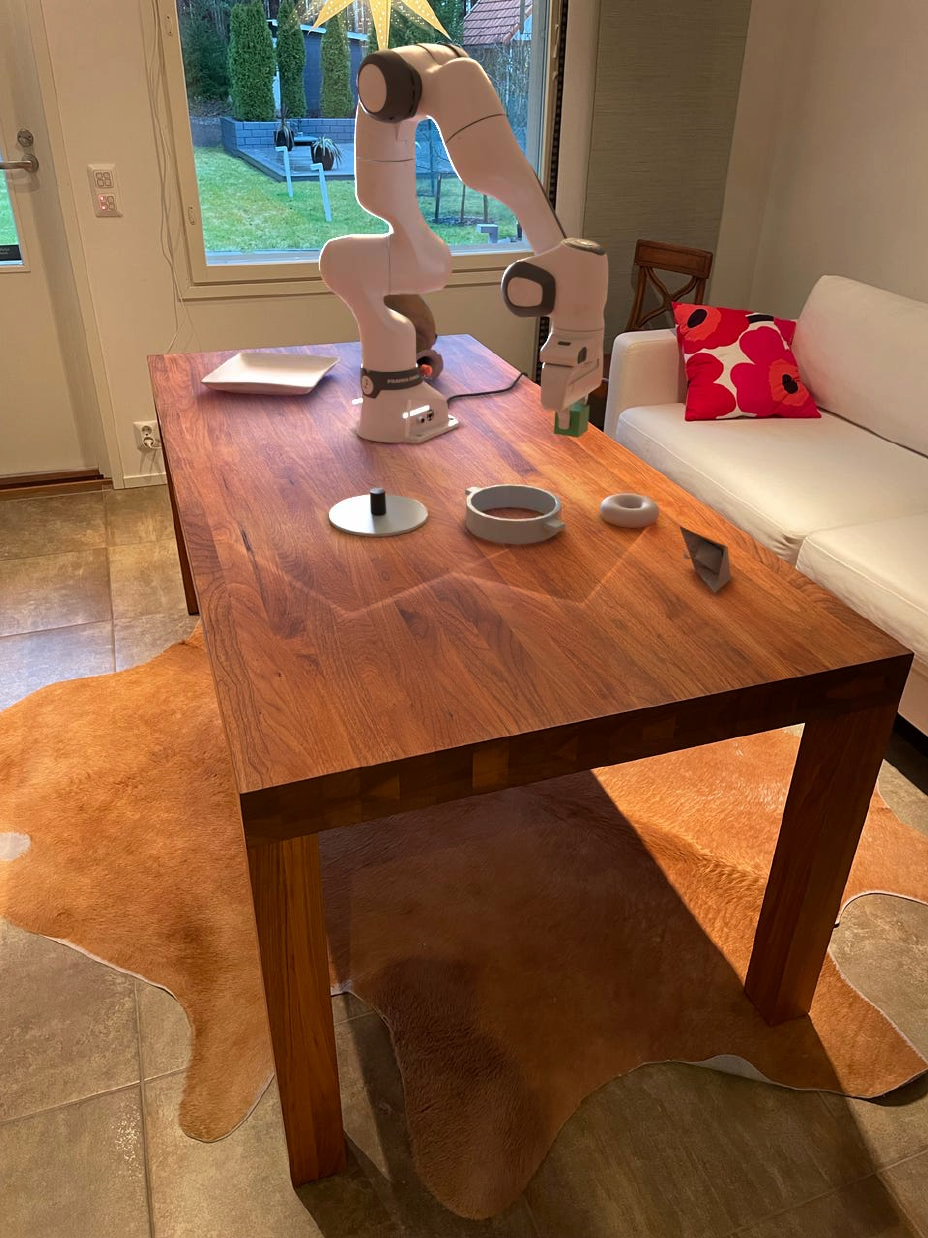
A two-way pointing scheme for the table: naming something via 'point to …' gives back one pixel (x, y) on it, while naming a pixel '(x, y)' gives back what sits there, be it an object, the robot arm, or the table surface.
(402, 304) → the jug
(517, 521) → the pan
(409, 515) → the pan lid
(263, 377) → the square plate
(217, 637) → the table surface
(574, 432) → the block
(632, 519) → the donut
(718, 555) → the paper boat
